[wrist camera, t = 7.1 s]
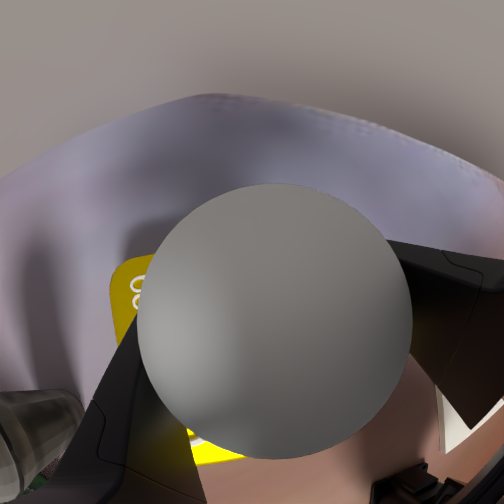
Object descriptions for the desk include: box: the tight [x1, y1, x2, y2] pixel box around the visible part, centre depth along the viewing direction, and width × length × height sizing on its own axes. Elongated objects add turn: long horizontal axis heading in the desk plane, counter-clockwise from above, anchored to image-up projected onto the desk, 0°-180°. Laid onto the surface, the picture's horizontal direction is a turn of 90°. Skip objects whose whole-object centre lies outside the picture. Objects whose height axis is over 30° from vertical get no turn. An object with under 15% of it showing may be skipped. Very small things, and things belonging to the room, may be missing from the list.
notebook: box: [435, 385, 504, 454], centre depth 22 cm, size 14×20×1 cm
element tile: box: [109, 254, 249, 466], centre depth 19 cm, size 15×15×5 cm
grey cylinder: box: [137, 183, 413, 459], centre depth 10 cm, size 6×6×10 cm
